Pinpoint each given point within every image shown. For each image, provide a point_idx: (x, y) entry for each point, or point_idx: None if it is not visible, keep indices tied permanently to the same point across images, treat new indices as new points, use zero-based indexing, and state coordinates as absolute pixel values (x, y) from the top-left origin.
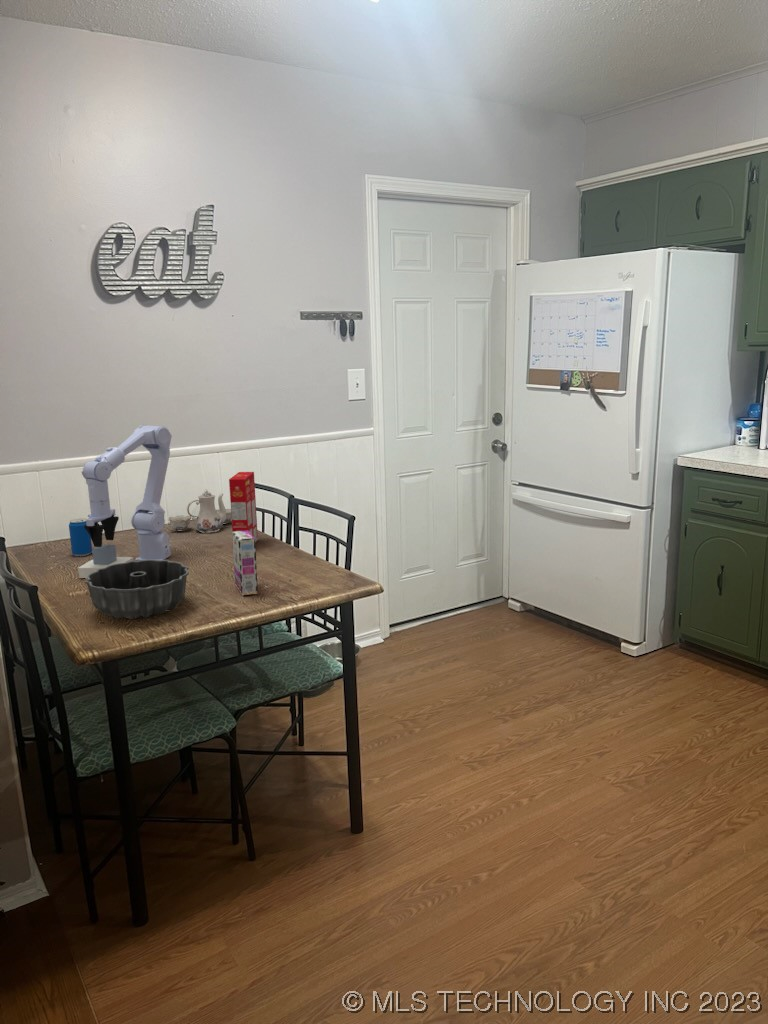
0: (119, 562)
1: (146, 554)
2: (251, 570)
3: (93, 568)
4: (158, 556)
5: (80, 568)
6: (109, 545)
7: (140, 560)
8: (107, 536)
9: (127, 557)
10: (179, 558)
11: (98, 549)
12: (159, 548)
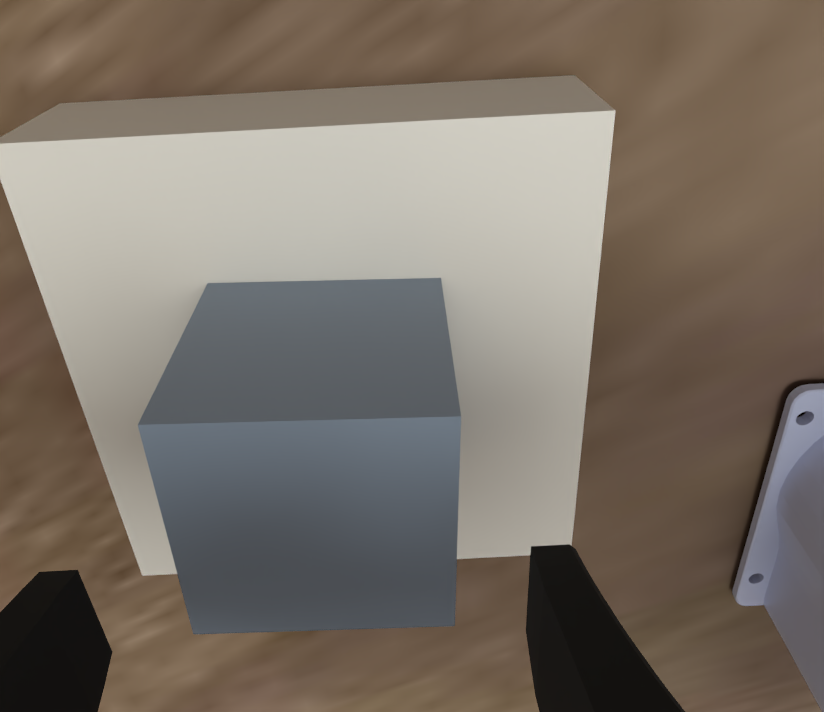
0: None
1: (804, 534)
2: None
3: (69, 360)
4: (783, 596)
5: (6, 181)
6: (410, 575)
7: (776, 440)
8: (544, 633)
9: (559, 511)
10: None
11: (165, 521)
12: (820, 680)
